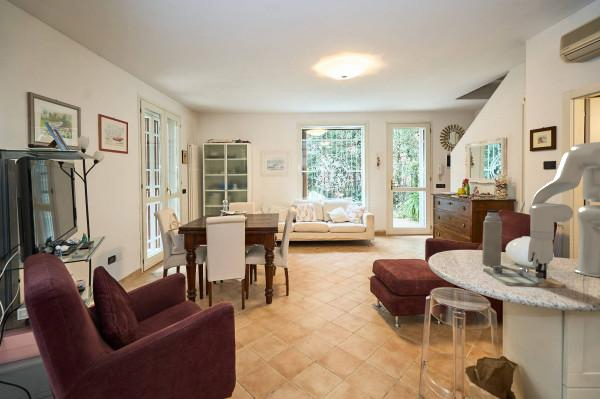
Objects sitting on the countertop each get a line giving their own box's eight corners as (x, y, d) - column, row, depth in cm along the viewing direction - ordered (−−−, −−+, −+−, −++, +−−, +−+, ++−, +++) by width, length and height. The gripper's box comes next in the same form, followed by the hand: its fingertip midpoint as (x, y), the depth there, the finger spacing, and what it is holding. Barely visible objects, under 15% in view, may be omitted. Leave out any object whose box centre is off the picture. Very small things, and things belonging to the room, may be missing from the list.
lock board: (534, 272, 138) (534, 263, 138) (565, 287, 118) (566, 277, 118) (483, 270, 141) (483, 262, 141) (505, 284, 122) (506, 274, 121)
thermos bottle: (479, 262, 156) (480, 209, 155) (495, 262, 156) (497, 209, 154) (487, 266, 148) (488, 211, 147) (504, 267, 148) (506, 211, 146)
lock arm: (516, 273, 132) (516, 264, 132) (525, 274, 131) (525, 264, 131) (536, 283, 119) (536, 273, 119) (545, 283, 118) (546, 273, 118)
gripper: (541, 231, 129) (540, 273, 130) (521, 235, 122) (520, 279, 123) (562, 234, 122) (561, 278, 123) (542, 238, 115) (541, 284, 117)
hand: (540, 278), depth 123 cm, fingers closed
